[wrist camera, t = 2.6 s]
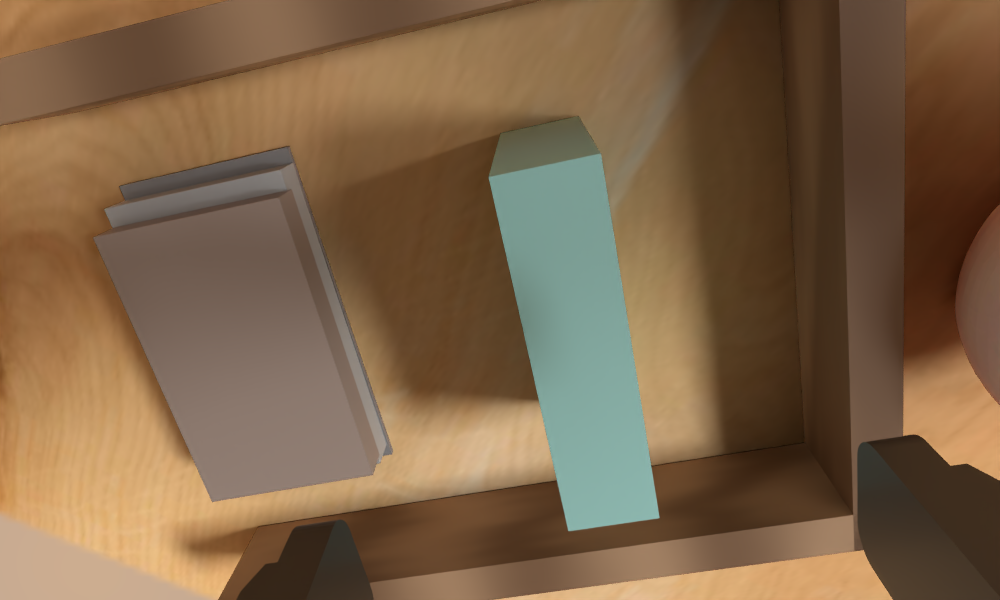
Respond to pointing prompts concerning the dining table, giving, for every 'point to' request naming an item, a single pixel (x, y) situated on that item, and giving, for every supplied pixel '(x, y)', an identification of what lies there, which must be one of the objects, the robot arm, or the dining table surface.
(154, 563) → the dining table surface
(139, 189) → the bottom offcut
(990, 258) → the decorative fruit
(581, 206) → the teal panel
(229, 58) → the walnut frame
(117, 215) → the middle offcut
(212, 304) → the top offcut
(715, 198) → the dining table surface
